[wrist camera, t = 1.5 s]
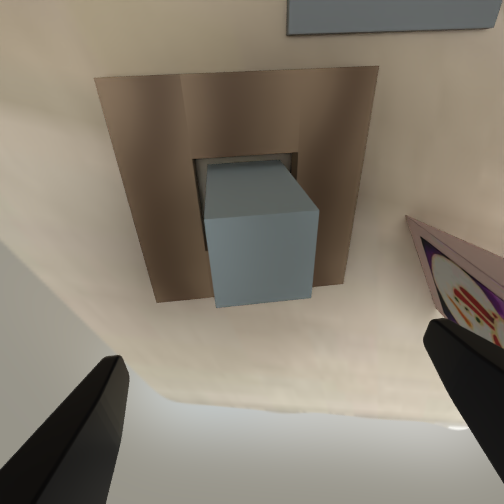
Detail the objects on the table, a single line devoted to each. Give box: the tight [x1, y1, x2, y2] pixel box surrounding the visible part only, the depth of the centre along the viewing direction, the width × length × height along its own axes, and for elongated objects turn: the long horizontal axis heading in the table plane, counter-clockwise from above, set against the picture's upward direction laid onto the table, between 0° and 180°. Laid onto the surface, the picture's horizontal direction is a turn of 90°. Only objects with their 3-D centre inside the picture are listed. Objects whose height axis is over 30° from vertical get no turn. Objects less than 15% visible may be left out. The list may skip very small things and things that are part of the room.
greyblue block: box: [204, 160, 319, 308], centre depth 16 cm, size 4×4×8 cm
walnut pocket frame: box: [94, 66, 379, 303], centre depth 18 cm, size 14×14×2 cm
